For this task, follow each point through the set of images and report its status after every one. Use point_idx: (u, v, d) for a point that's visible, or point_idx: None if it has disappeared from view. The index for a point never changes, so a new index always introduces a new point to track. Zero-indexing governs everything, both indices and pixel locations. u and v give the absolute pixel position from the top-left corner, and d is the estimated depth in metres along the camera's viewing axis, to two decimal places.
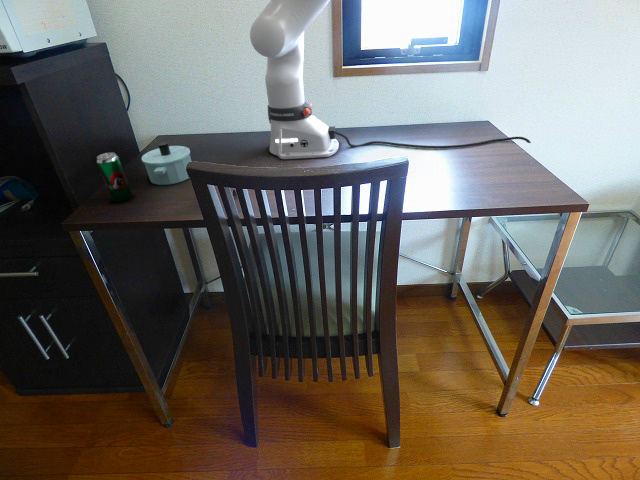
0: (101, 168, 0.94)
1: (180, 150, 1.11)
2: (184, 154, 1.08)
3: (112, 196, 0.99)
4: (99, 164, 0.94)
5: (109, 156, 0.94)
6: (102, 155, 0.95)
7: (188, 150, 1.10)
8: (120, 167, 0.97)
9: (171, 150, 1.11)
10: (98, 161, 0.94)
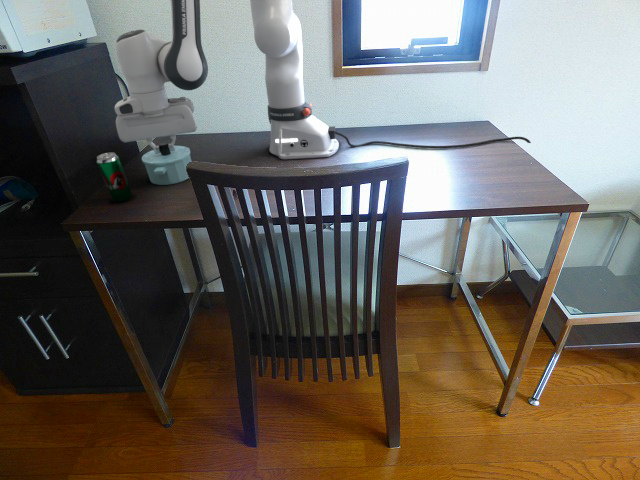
0: (101, 168, 0.94)
1: (180, 150, 1.11)
2: (184, 154, 1.08)
3: (112, 196, 0.99)
4: (99, 164, 0.94)
5: (109, 156, 0.94)
6: (102, 155, 0.95)
7: (188, 150, 1.10)
8: (120, 167, 0.97)
9: None
10: (98, 161, 0.94)
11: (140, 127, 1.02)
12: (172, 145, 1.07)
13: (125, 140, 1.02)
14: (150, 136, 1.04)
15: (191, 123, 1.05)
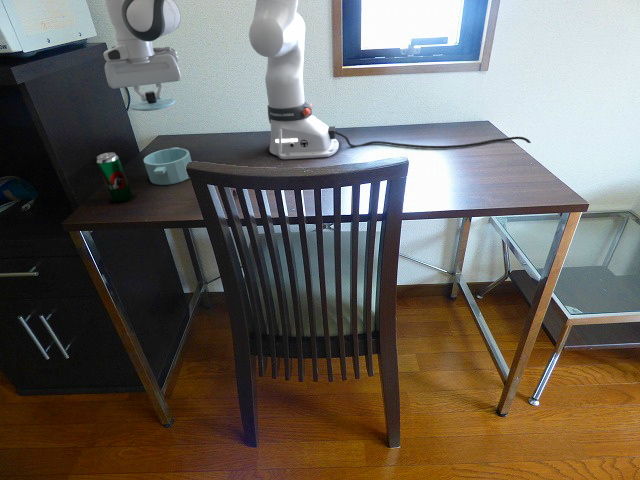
0: (101, 168, 0.94)
1: (166, 99, 1.19)
2: (169, 102, 1.16)
3: (112, 196, 0.99)
4: (99, 164, 0.94)
5: (109, 156, 0.94)
6: (102, 155, 0.95)
7: (173, 99, 1.18)
8: (120, 167, 0.97)
9: (157, 100, 1.19)
10: (98, 161, 0.94)
11: (127, 74, 1.10)
12: (158, 93, 1.15)
13: (113, 86, 1.10)
14: (137, 83, 1.12)
15: (175, 72, 1.13)
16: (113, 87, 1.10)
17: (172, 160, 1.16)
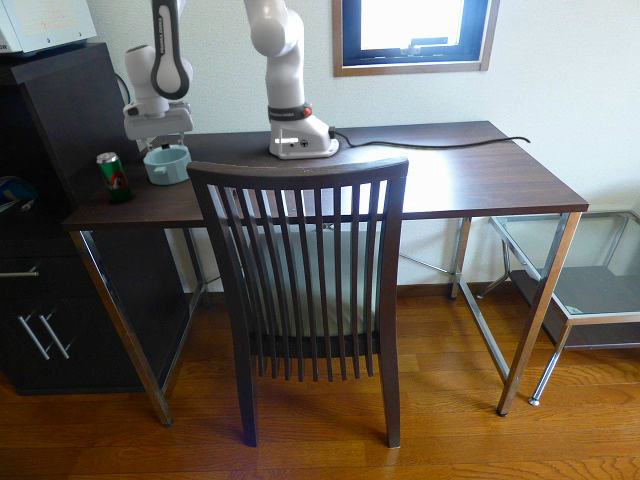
0: (101, 168, 0.94)
1: None
2: None
3: (112, 196, 0.99)
4: (99, 164, 0.94)
5: (109, 156, 0.94)
6: (102, 155, 0.95)
7: (186, 148, 1.27)
8: (120, 167, 0.97)
9: None
10: (98, 161, 0.94)
11: (144, 127, 1.18)
12: (181, 141, 1.25)
13: (132, 138, 1.19)
14: (154, 135, 1.20)
15: (189, 123, 1.22)
16: (132, 139, 1.19)
17: (172, 160, 1.16)
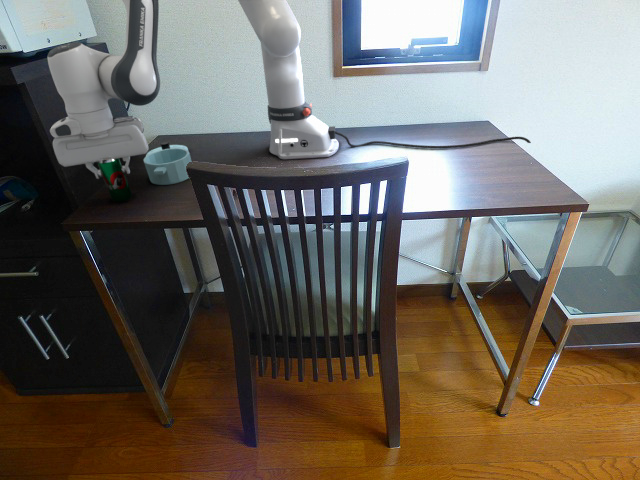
0: (101, 168, 0.94)
1: None
2: None
3: (112, 196, 0.99)
4: (99, 164, 0.94)
5: None
6: None
7: (186, 148, 1.27)
8: (120, 167, 0.97)
9: None
10: (98, 161, 0.94)
11: (81, 150, 0.91)
12: (126, 168, 0.97)
13: (65, 164, 0.92)
14: (95, 159, 0.93)
15: (140, 145, 0.95)
16: (65, 165, 0.92)
17: (172, 160, 1.16)
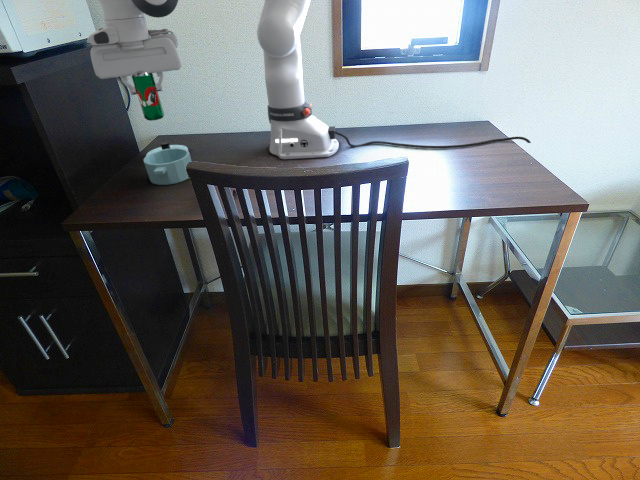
0: (136, 82, 0.96)
1: None
2: None
3: (145, 113, 1.00)
4: (134, 78, 0.95)
5: None
6: None
7: (186, 148, 1.27)
8: (154, 83, 0.98)
9: None
10: (133, 75, 0.95)
11: (117, 62, 0.93)
12: (159, 84, 0.99)
13: (102, 76, 0.93)
14: (130, 73, 0.95)
15: (174, 59, 0.96)
16: (101, 77, 0.93)
17: (172, 160, 1.16)
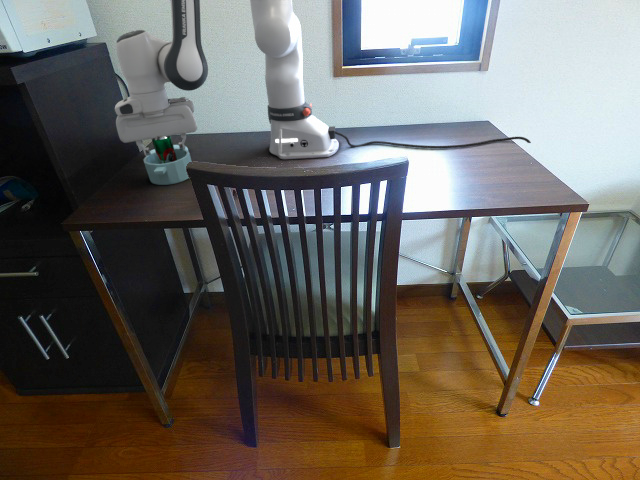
0: (156, 144, 1.05)
1: None
2: None
3: None
4: (154, 141, 1.05)
5: None
6: None
7: (186, 148, 1.27)
8: (172, 144, 1.07)
9: None
10: (153, 138, 1.05)
11: (140, 128, 1.02)
12: (182, 144, 1.08)
13: (125, 140, 1.02)
14: (151, 136, 1.04)
15: (191, 123, 1.05)
16: (125, 141, 1.02)
17: None
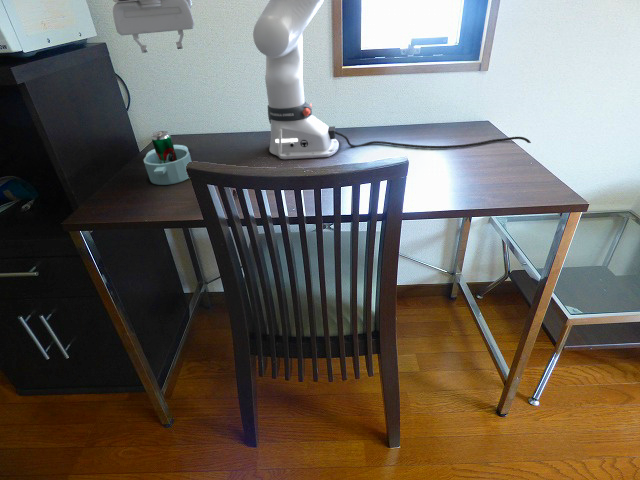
0: (156, 144, 1.05)
1: None
2: None
3: None
4: (154, 141, 1.05)
5: (163, 134, 1.05)
6: (156, 133, 1.06)
7: (186, 148, 1.27)
8: (172, 144, 1.07)
9: None
10: (153, 138, 1.05)
11: (137, 19, 1.01)
12: (180, 42, 1.07)
13: (122, 32, 1.01)
14: (148, 30, 1.03)
15: (189, 19, 1.04)
16: (122, 33, 1.02)
17: None
